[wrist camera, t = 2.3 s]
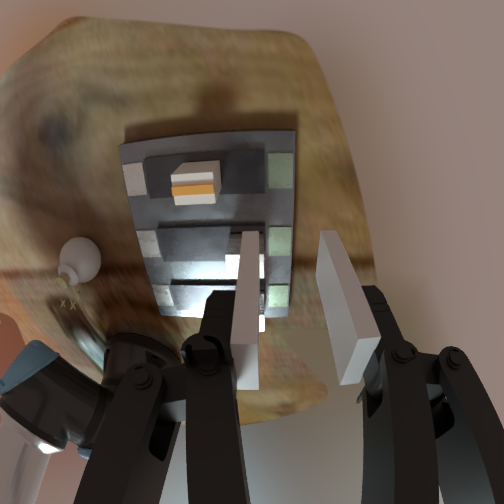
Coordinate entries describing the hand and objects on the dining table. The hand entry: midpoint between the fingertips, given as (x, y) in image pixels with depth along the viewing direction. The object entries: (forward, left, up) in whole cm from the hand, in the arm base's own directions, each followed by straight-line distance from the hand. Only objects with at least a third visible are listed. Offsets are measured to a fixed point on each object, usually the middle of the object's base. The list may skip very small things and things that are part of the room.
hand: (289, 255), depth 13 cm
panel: (-7, -8, -17) cm, 20 cm away
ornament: (-25, -10, -17) cm, 32 cm away
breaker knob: (-7, 0, -14) cm, 16 cm away
